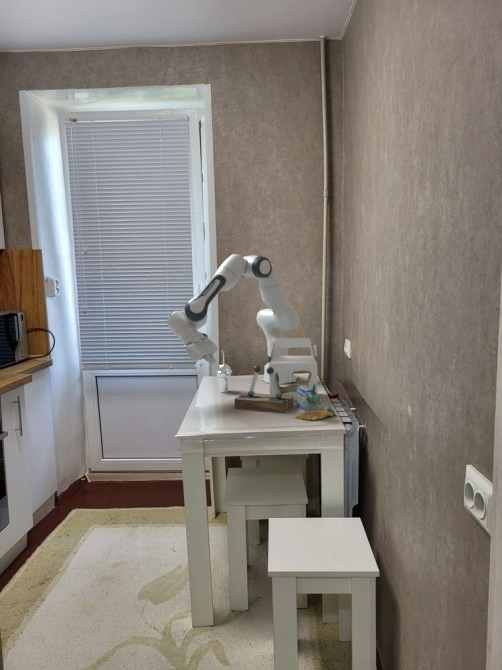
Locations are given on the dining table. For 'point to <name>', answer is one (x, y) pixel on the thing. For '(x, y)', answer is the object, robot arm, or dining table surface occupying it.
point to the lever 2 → (274, 382)
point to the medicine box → (303, 397)
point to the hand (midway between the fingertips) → (214, 363)
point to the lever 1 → (254, 380)
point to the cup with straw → (223, 376)
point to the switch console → (264, 402)
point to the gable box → (293, 364)
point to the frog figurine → (315, 415)
